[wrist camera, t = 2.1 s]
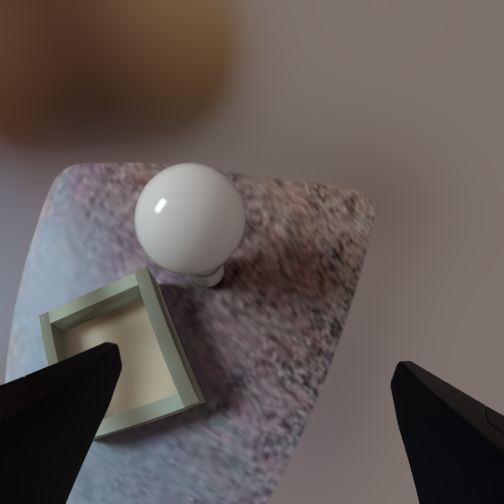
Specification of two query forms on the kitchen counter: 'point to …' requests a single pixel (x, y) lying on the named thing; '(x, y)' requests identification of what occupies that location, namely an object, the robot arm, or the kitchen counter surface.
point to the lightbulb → (190, 221)
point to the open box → (128, 349)
